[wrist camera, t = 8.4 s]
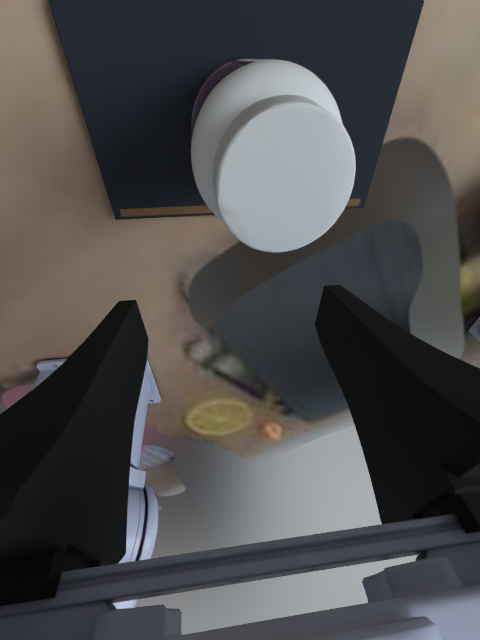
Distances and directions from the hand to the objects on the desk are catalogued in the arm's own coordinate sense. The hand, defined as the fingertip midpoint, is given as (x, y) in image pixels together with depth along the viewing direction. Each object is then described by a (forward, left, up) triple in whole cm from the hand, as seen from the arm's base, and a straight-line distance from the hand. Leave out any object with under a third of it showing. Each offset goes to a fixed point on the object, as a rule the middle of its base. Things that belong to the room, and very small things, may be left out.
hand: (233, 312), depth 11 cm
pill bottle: (+2, +5, -10) cm, 11 cm away
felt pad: (+2, +5, -10) cm, 11 cm away
